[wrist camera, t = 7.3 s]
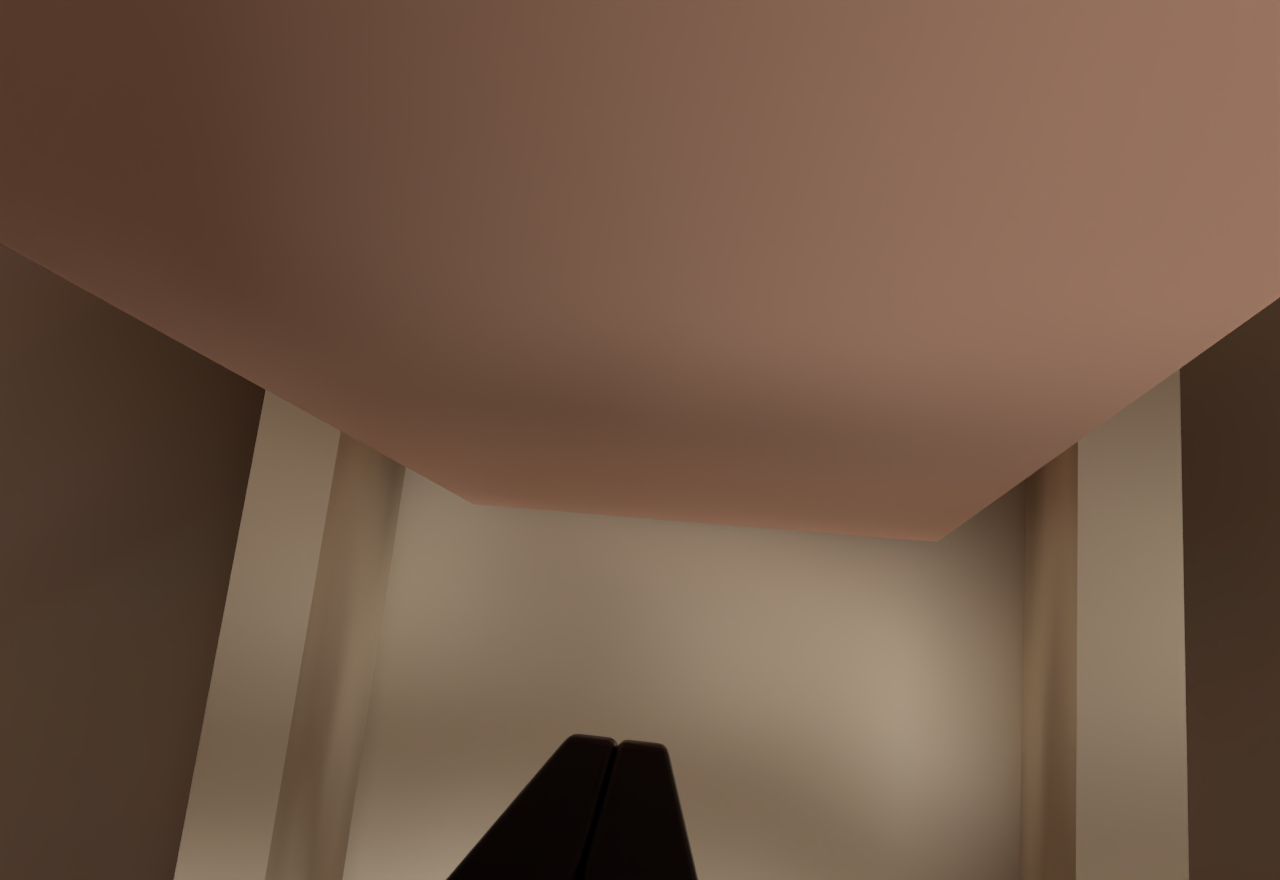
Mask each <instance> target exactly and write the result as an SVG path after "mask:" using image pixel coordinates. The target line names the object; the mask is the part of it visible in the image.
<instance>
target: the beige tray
mask: <svg viewBox="0 0 1280 880" xmlns="http://www.w3.org/2000/svg"><path fill="white" fill-rule="evenodd" d="M573 734H587V735H595V736H604V737H611V738H613V739H615V740H616V741H617V743H618V745H619V744H620V742H621V741H623V740H628V739H629V740H638V741H647V742H655V743H661V744H663V745H665V746H666V748H667V749H668V752H669V756H670V760H671V764H672V768H673V773H674V777H675V781H676V786H677V790H678V794H679V799H680V803H681V808H682V812H683V816H684V821H685V825H686V829H687V834H688V838H689V842H690V847H691V851H692V855H693V860H694V864H695V868H696V873H697V877H698V880H1189V854H1188V799H1187V743H1186V688H1185V632H1184V576H1183V521H1182V465H1181V410H1180V369H1178V370H1177V371H1176V372H1174V373H1173V374H1171V375H1170V376H1169V377H1167V378H1166V379H1164V380H1163V381H1162V382H1160V383H1159V384H1157V385H1156V386H1155V387H1153V388H1152V389H1151V390H1149V391H1148V392H1146V393H1145V394H1144V395H1142V396H1141V397H1139V398H1138V399H1137V400H1135V401H1134V402H1132V403H1131V404H1130V405H1128V406H1127V407H1125V408H1124V409H1123V410H1121V411H1120V412H1118V413H1117V414H1116V415H1114V416H1113V417H1111V418H1110V419H1109V420H1107V421H1106V422H1104V423H1103V424H1102V425H1100V426H1099V427H1097V428H1096V429H1095V430H1093V431H1092V432H1090V433H1089V434H1088V435H1086V436H1085V437H1083V438H1082V439H1081V440H1079V441H1078V442H1076V443H1075V444H1074V445H1072V446H1071V447H1069V448H1068V449H1067V450H1065V451H1064V452H1062V453H1061V454H1060V455H1058V456H1057V457H1055V458H1054V459H1053V460H1051V461H1050V462H1048V463H1047V464H1046V465H1044V466H1043V467H1041V468H1040V469H1039V470H1037V471H1036V472H1034V473H1033V474H1032V475H1030V476H1029V477H1027V478H1026V479H1025V480H1023V481H1022V482H1020V483H1019V484H1018V485H1016V486H1015V487H1013V488H1012V489H1011V490H1009V491H1008V492H1006V493H1005V494H1004V495H1002V496H1001V497H999V498H998V499H997V500H995V501H994V502H992V503H991V504H990V505H988V506H987V507H985V508H984V509H983V510H981V511H980V512H978V513H977V514H976V515H974V516H973V517H971V518H970V519H969V520H967V521H966V522H964V523H963V524H962V525H960V526H959V527H957V528H956V529H955V530H953V531H952V532H950V533H949V534H948V535H946V536H945V537H943V538H942V539H941V540H939V541H938V542H927V541H915V540H903V539H891V538H879V537H867V536H854V535H842V534H830V533H818V532H806V531H794V530H782V529H769V528H757V527H745V526H733V525H721V524H709V523H697V522H685V521H672V520H660V519H648V518H636V517H624V516H612V515H600V514H588V513H575V512H563V511H551V510H539V509H527V508H515V507H503V506H491V505H478V504H472V503H470V502H468V501H467V500H465V499H463V498H461V497H459V496H458V495H456V494H454V493H452V492H450V491H448V490H447V489H445V488H443V487H441V486H439V485H438V484H436V483H434V482H432V481H430V480H429V479H427V478H425V477H423V476H421V475H419V474H418V473H416V472H414V471H412V470H410V469H409V468H407V467H405V466H403V465H401V464H399V463H398V462H396V461H394V460H392V459H390V458H389V457H387V456H385V455H383V454H381V453H380V452H378V451H376V450H374V449H372V448H370V447H369V446H367V445H365V444H363V443H361V442H360V441H358V440H356V439H354V438H352V437H350V436H349V435H347V434H345V433H343V432H341V431H340V430H338V429H336V428H334V427H332V426H330V425H329V424H327V423H325V422H323V421H321V420H320V419H318V418H316V417H314V416H312V415H311V414H309V413H307V412H305V411H303V410H301V409H300V408H298V407H296V406H294V405H292V404H291V403H289V402H287V401H285V400H283V399H281V398H280V397H278V396H276V395H274V394H272V393H271V392H269V391H267V390H266V391H265V396H264V401H263V407H262V412H261V417H260V423H259V428H258V433H257V439H256V444H255V449H254V455H253V460H252V465H251V471H250V476H249V481H248V487H247V492H246V497H245V503H244V508H243V513H242V519H241V524H240V529H239V535H238V540H237V545H236V551H235V556H234V561H233V566H232V572H231V577H230V582H229V588H228V593H227V598H226V604H225V609H224V614H223V620H222V625H221V630H220V636H219V641H218V646H217V652H216V657H215V662H214V668H213V673H212V678H211V684H210V689H209V694H208V700H207V705H206V710H205V716H204V721H203V726H202V732H201V737H200V742H199V748H198V753H197V758H196V764H195V769H194V774H193V780H192V785H191V790H190V796H189V801H188V806H187V812H186V817H185V822H184V828H183V833H182V838H181V843H180V849H179V854H178V859H177V865H176V870H175V875H174V880H446V879H447V878H448V877H449V875H450V874H451V873H452V872H453V871H454V870H455V868H456V867H457V866H458V865H459V864H460V863H461V861H462V860H463V859H464V858H465V857H466V855H467V854H468V853H469V852H470V851H471V850H472V848H473V847H474V846H475V845H476V844H477V843H478V841H479V840H480V839H481V838H482V837H483V836H484V834H485V833H486V832H487V831H488V830H489V828H490V827H491V826H492V825H493V824H494V823H495V821H496V820H497V819H498V818H499V817H500V816H501V814H502V813H503V812H504V811H505V810H506V809H507V807H508V806H509V805H510V804H511V803H512V801H513V800H514V799H515V798H516V797H517V796H518V794H519V793H520V792H521V791H522V790H523V789H524V787H525V786H526V785H527V784H528V783H529V782H530V780H531V779H532V778H533V777H534V776H535V775H536V773H537V772H538V771H539V770H540V769H541V767H542V766H543V765H544V764H545V763H546V762H547V760H548V759H549V758H550V757H551V756H552V755H553V753H554V752H555V751H556V750H557V749H558V748H559V746H560V745H561V744H562V743H563V742H564V741H565V740H566V739H567V738H568V737H569V736H571V735H573Z"/></svg>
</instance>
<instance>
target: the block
mask: <svg viewBox="0 0 1280 880" xmlns="http://www.w3.org/2000/svg"><path fill="white" fill-rule="evenodd" d="M0 244H2V245H4V246H5V247H7V248H9V249H11V250H13V251H15V252H16V253H18V254H20V255H22V256H24V257H25V258H27V259H29V260H31V261H33V262H35V263H36V264H38V265H40V266H42V267H44V268H45V269H47V270H49V271H51V272H53V273H54V274H56V275H58V276H60V277H62V278H64V279H65V280H67V281H69V282H71V283H73V284H74V285H76V286H78V287H80V288H82V289H84V290H85V291H87V292H89V293H91V294H93V295H94V296H96V297H98V298H100V299H102V300H104V301H105V302H107V303H109V304H111V305H113V306H114V307H116V308H118V309H120V310H122V311H123V312H125V313H127V314H129V315H131V316H133V317H134V318H136V319H138V320H140V321H142V322H143V323H145V324H147V325H149V326H151V327H153V328H154V329H156V330H158V331H160V332H162V333H163V334H165V335H167V336H169V337H171V338H173V339H174V340H176V341H178V342H180V343H182V344H183V345H185V346H187V347H189V348H191V349H192V350H194V351H196V352H198V353H200V354H202V355H203V356H205V357H207V358H209V359H211V360H212V361H214V362H216V363H218V364H220V365H222V366H223V367H225V368H227V369H229V370H231V371H232V372H234V373H236V374H238V375H240V376H242V377H243V378H245V379H247V380H249V381H251V382H252V383H254V384H256V385H258V386H260V387H261V388H263V389H265V390H267V391H269V392H271V393H272V394H274V395H276V396H278V397H280V398H281V399H283V400H285V401H287V402H289V403H291V404H292V405H294V406H296V407H298V408H300V409H301V410H303V411H305V412H307V413H309V414H311V415H312V416H314V417H316V418H318V419H320V420H321V421H323V422H325V423H327V424H329V425H330V426H332V427H334V428H336V429H338V430H340V431H341V432H343V433H345V434H347V435H349V436H350V437H352V438H354V439H356V440H358V441H360V442H361V443H363V444H365V445H367V446H369V447H370V448H372V449H374V450H376V451H378V452H380V453H381V454H383V455H385V456H387V457H389V458H390V459H392V460H394V461H396V462H398V463H399V464H401V465H403V466H405V467H407V468H409V469H410V470H412V471H414V472H416V473H418V474H419V475H421V476H423V477H425V478H427V479H429V480H430V481H432V482H434V483H436V484H438V485H439V486H441V487H443V488H445V489H447V490H448V491H450V492H452V493H454V494H456V495H458V496H459V497H461V498H463V499H465V500H467V501H468V502H470V503H472V504H478V505H491V506H503V507H515V508H527V509H539V510H551V511H563V512H575V513H588V514H600V515H612V516H624V517H636V518H648V519H660V520H672V521H685V522H697V523H709V524H721V525H733V526H745V527H757V528H769V529H782V530H794V531H806V532H818V533H830V534H842V535H854V536H867V537H879V538H891V539H903V540H915V541H927V542H938V541H939V540H941V539H942V538H943V537H945V536H946V535H948V534H949V533H950V532H952V531H953V530H955V529H956V528H957V527H959V526H960V525H962V524H963V523H964V522H966V521H967V520H969V519H970V518H971V517H973V516H974V515H976V514H977V513H978V512H980V511H981V510H983V509H984V508H985V507H987V506H988V505H990V504H991V503H992V502H994V501H995V500H997V499H998V498H999V497H1001V496H1002V495H1004V494H1005V493H1006V492H1008V491H1009V490H1011V489H1012V488H1013V487H1015V486H1016V485H1018V484H1019V483H1020V482H1022V481H1023V480H1025V479H1026V478H1027V477H1029V476H1030V475H1032V474H1033V473H1034V472H1036V471H1037V470H1039V469H1040V468H1041V467H1043V466H1044V465H1046V464H1047V463H1048V462H1050V461H1051V460H1053V459H1054V458H1055V457H1057V456H1058V455H1060V454H1061V453H1062V452H1064V451H1065V450H1067V449H1068V448H1069V447H1071V446H1072V445H1074V444H1075V443H1076V442H1078V441H1079V440H1081V439H1082V438H1083V437H1085V436H1086V435H1088V434H1089V433H1090V432H1092V431H1093V430H1095V429H1096V428H1097V427H1099V426H1100V425H1102V424H1103V423H1104V422H1106V421H1107V420H1109V419H1110V418H1111V417H1113V416H1114V415H1116V414H1117V413H1118V412H1120V411H1121V410H1123V409H1124V408H1125V407H1127V406H1128V405H1130V404H1131V403H1132V402H1134V401H1135V400H1137V399H1138V398H1139V397H1141V396H1142V395H1144V394H1145V393H1146V392H1148V391H1149V390H1151V389H1152V388H1153V387H1155V386H1156V385H1157V384H1159V383H1160V382H1162V381H1163V380H1164V379H1166V378H1167V377H1169V376H1170V375H1171V374H1173V373H1174V372H1176V371H1177V370H1178V369H1180V368H1181V367H1183V366H1184V365H1185V364H1187V363H1188V362H1190V361H1191V360H1192V359H1194V358H1195V357H1197V356H1198V355H1199V354H1201V353H1202V352H1204V351H1205V350H1206V349H1208V348H1209V347H1211V346H1212V345H1213V344H1215V343H1216V342H1218V341H1219V340H1220V339H1222V338H1223V337H1225V336H1226V335H1227V334H1229V333H1230V332H1232V331H1233V330H1234V329H1236V328H1237V327H1239V326H1240V325H1241V324H1243V323H1244V322H1246V321H1247V320H1248V319H1250V318H1251V317H1253V316H1254V315H1255V314H1257V313H1258V312H1260V311H1261V310H1262V309H1264V308H1265V307H1267V306H1268V305H1269V304H1271V303H1272V302H1274V301H1275V300H1276V299H1278V298H1279V297H1280V0H0Z"/></svg>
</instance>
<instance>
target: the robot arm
mask: <svg viewBox="0 0 1280 880" xmlns="http://www.w3.org/2000/svg"><path fill="white" fill-rule="evenodd" d="M446 880H698V877H697V873H696V868H695V864H694V860H693V855H692V851H691V847H690V842H689V838H688V834H687V829H686V825H685V821H684V816H683V812H682V808H681V803H680V799H679V794H678V790H677V786H676V781H675V777H674V773H673V768H672V764H671V760H670V756H669V752H668V749H667V748H666V746H665V745H663V744H661V743H655V742H647V741H638V740H629V739H628V740H623V741H621V742H620V744H619V745H618V743H617V741H616V740H615V739H613V738H611V737H604V736H595V735H587V734H573V735H571V736H569V737H568V738H567V739H566V740H565V741H564V742H563V743H562V744H561V745H560V746H559V748H558V749H557V750H556V751H555V752H554V753H553V755H552V756H551V757H550V758H549V759H548V760H547V762H546V763H545V764H544V765H543V766H542V767H541V769H540V770H539V771H538V772H537V773H536V775H535V776H534V777H533V778H532V779H531V780H530V782H529V783H528V784H527V785H526V786H525V787H524V789H523V790H522V791H521V792H520V793H519V794H518V796H517V797H516V798H515V799H514V800H513V801H512V803H511V804H510V805H509V806H508V807H507V809H506V810H505V811H504V812H503V813H502V814H501V816H500V817H499V818H498V819H497V820H496V821H495V823H494V824H493V825H492V826H491V827H490V828H489V830H488V831H487V832H486V833H485V834H484V836H483V837H482V838H481V839H480V840H479V841H478V843H477V844H476V845H475V846H474V847H473V848H472V850H471V851H470V852H469V853H468V854H467V855H466V857H465V858H464V859H463V860H462V861H461V863H460V864H459V865H458V866H457V867H456V868H455V870H454V871H453V872H452V873H451V874H450V875H449V877H448V878H447V879H446Z"/></svg>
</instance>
